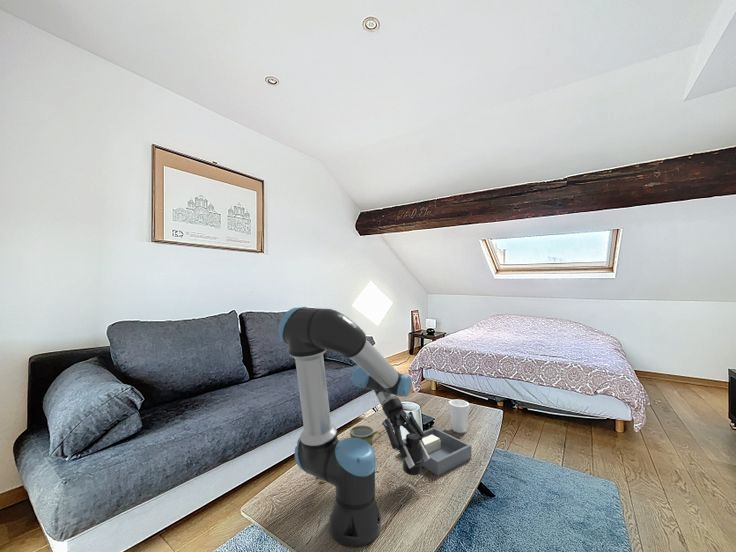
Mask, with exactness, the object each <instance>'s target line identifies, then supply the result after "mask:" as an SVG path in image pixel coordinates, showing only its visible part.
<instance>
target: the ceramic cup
mask: <svg viewBox="0 0 736 552" xmlns="http://www.w3.org/2000/svg"><path fill="white" fill-rule="evenodd" d="M377 434H379V436H378V438H376V439H375V440H374V441H373V438H374V437H375V435H377ZM349 435H350V436H349V437H351V438H359V439H362V440H364V441H366V442H368V443H369V444H370V445H371V446H372V447H373V446H374V444H375V443H376V442H377V441H378V440H379V439H381V435H382V434H381V432H380V431H377V430H376V431H375V430H374V428H373V427H371V426H369V425H364V424H362V425H361V424H360V425H356V426H353V427H351V428H350V429H349Z"/></svg>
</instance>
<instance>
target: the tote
mask: <svg viewBox="0 0 736 552" xmlns="http://www.w3.org/2000/svg"><path fill="white" fill-rule="evenodd" d="M422 432H423V433H424V437H423V438H425V437H427V436H429V435H434V436H436V437H438V438H440V441H441V448H440V449H438V450H436V451H433V452H431V453H429V454H428V455H429V457H430V459H428V460H427V461H426V462H424V460H423V458H422V468H424V469H426V470H428V471H429V472H430V473H432V474H434V475H436V476H438V477H439V476H441V475H444V473H446V472H448V471H450V470H452V469H454V468H455V467H457V466H460V465H461V464H463V463H465V462H466V461H469V460H471V459H472V445H471V444H469V443H467V442H466V441H463V440H461V439H459V438H456V437H455V436H453V435H450V434H448V433H446V432H444V431H442V430H440V429H438V428H436V427H431V428H429V429H427V430H426V429H425V430H422ZM402 441H403V445H404V443H405V442H406V437H405V438H402Z"/></svg>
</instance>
